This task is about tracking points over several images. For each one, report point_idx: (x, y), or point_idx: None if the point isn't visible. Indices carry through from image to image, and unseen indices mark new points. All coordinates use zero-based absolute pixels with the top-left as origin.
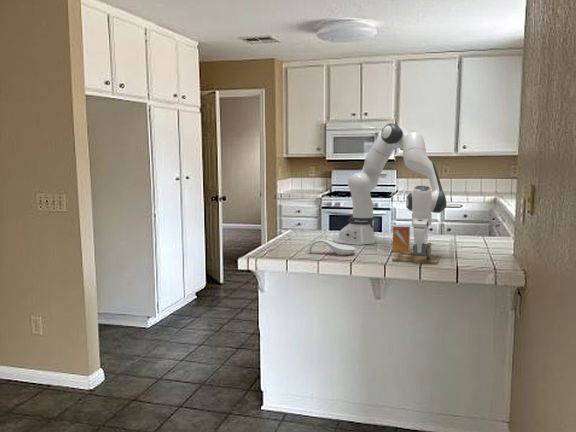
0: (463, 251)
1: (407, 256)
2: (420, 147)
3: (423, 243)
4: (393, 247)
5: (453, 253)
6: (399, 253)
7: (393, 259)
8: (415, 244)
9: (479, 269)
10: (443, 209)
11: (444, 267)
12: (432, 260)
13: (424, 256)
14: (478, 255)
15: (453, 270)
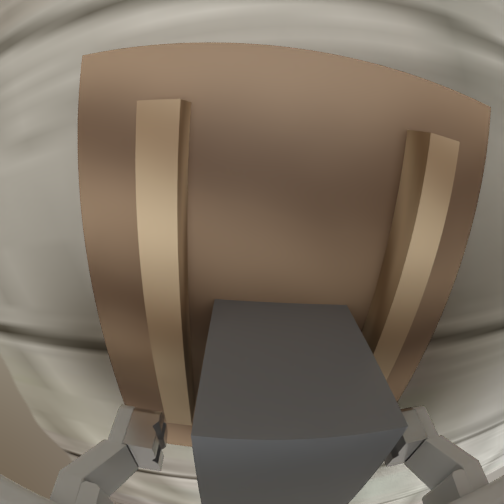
0: (484, 442)
1: (144, 251)
2: None
3: (420, 471)
4: None
5: (464, 435)
6: (479, 127)
7: (81, 70)
8: (324, 457)
9: (139, 497)
10: None
11: (90, 436)
12: (183, 427)
13: (183, 413)
14: (406, 487)
15: (61, 444)
